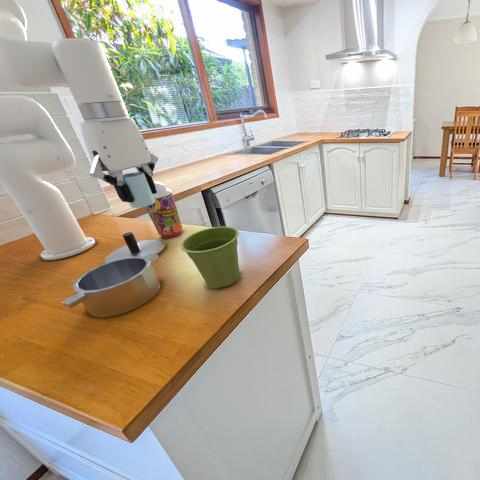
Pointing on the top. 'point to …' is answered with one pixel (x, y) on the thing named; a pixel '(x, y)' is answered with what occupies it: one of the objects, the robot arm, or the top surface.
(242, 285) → the top surface
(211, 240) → the plant pot
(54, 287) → the top surface
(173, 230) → the smoothie
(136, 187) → the measuring cup
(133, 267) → the silver cooking pot
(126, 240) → the lid
